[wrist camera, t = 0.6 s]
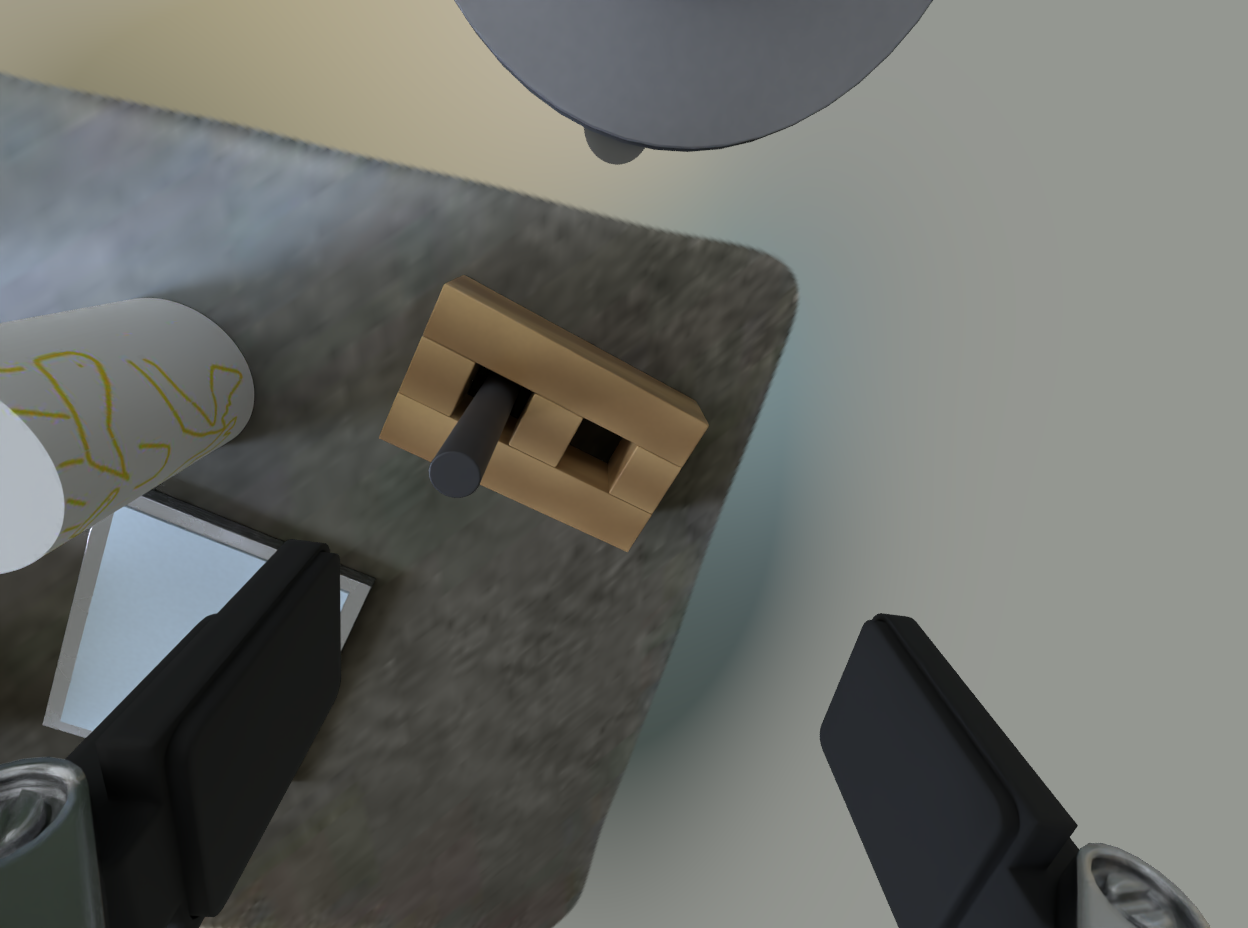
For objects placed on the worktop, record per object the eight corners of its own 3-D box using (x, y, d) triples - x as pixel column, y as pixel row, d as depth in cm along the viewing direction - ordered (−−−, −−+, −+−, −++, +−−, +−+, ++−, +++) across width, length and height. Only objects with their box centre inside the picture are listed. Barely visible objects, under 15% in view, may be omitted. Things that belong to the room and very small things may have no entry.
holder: (463, 274, 29) (444, 282, 25) (696, 401, 32) (710, 425, 28) (403, 412, 31) (378, 438, 28) (624, 516, 35) (627, 552, 31)
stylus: (495, 360, 31) (439, 442, 20) (526, 376, 31) (489, 465, 20) (482, 389, 31) (420, 484, 20) (512, 404, 32) (468, 506, 21)
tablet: (114, 473, 32) (100, 481, 31) (376, 578, 36) (370, 588, 35) (53, 714, 39) (40, 726, 38) (280, 783, 42) (273, 795, 41)
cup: (257, 461, 32) (81, 590, 21) (98, 436, 31) (-172, 557, 20) (250, 315, 29) (41, 376, 18) (74, 282, 28) (-262, 326, 17)
